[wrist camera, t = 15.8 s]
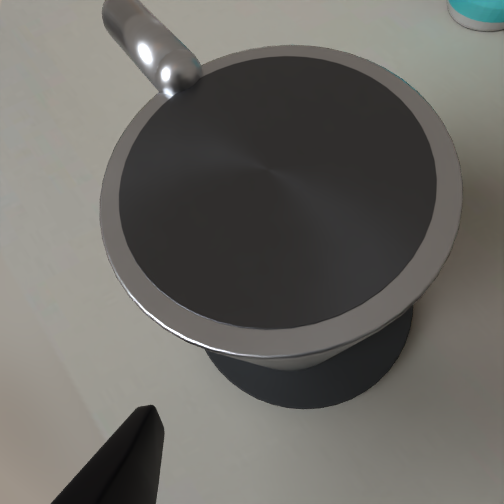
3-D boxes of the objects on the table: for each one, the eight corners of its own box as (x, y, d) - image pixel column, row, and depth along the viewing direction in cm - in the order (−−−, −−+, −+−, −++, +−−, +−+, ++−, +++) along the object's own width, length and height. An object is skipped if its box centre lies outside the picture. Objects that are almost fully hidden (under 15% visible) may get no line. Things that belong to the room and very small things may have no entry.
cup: (385, 313, 14) (588, 166, 4) (273, 402, 13) (208, 474, 4) (262, 179, 17) (216, -79, 7) (168, 245, 16) (-18, 56, 7)
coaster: (352, 459, 13) (355, 464, 12) (157, 333, 16) (150, 331, 15) (440, 250, 15) (447, 244, 15) (258, 175, 18) (256, 166, 17)
